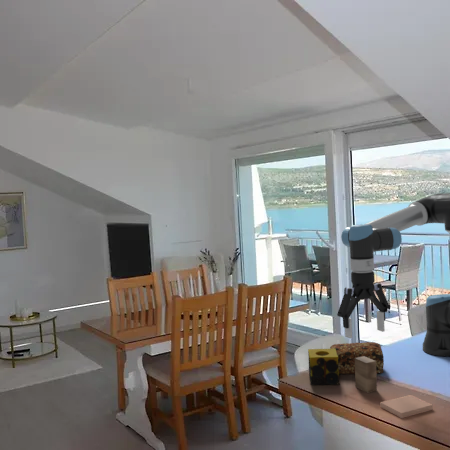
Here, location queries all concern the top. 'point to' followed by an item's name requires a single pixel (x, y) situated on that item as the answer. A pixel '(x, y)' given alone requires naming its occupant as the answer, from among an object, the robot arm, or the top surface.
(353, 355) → the bread
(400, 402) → the tile
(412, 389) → the top surface
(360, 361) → the light brown rectangular block
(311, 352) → the yellow spotted cube
